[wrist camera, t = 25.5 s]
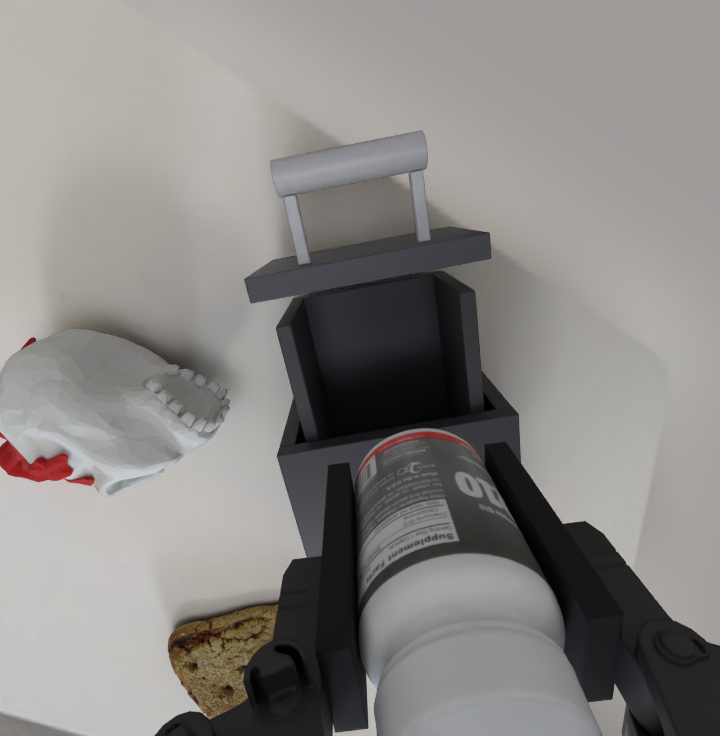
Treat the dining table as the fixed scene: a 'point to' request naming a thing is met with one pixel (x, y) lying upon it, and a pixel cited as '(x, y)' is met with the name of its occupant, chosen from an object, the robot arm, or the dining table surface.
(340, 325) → the drawer
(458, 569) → the pill bottle
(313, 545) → the cabinet
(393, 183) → the dining table surface
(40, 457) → the white and red skull
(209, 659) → the pastry
